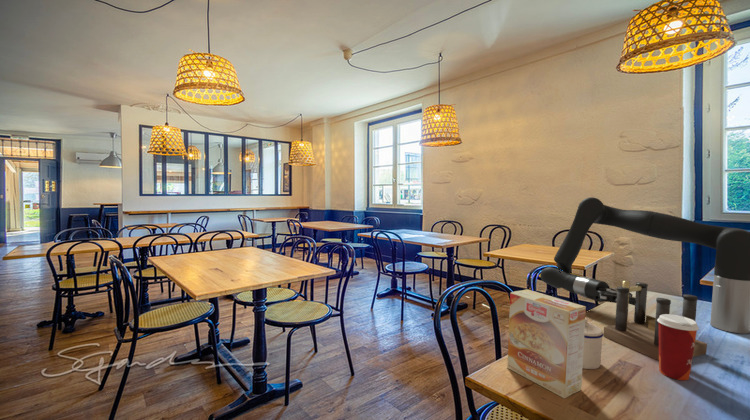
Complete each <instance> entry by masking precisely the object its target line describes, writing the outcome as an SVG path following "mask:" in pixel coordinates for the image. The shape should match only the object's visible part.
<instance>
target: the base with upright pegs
mask: <svg viewBox="0 0 750 420" xmlns="http://www.w3.org/2000/svg"><path fill="white" fill-rule="evenodd" d="M616 289H617V303H615V304H616V305H615V307H616V308H615V322H614V324H615V325H613V324H612V325H607V326H603V337H604V338H607V339H609V340H611V341H613V342H616V343H618V344H620V345H623V346H625V347H626V348H630V349H631V350H634V351H636V352H639V353H641V354H643V355H645V356H648V357H650V358H652V359H655V360H657V361H659V322H658V321H657V319H658V318H659V316H660V315H662V314H671V312H670V311H671V305H672V300H671V299H669V298H665V297H656V306H655V307H656V308H655V317H654V316H651V315H647V314H646V315H645V324H640V323H636V322H634V321H633V322H628V320H627V312H628V313H629V304H628V295H629V288H626V287H622V286H616ZM682 295H683V296H682V298H683V300H682V315H681V316H683V317H686V318H689V319H692V320H694V321H695V322H696V320H697V319H696V318H697V317H696V316H697V305H698V304H697V303H698V299H699V297H698V296H696V295H693V294H688V293H687V294H685V293H684V294H682ZM707 346H708V343H706V342H703V341H700V340H698V339H695V345H694V352H693V358H694V357H699V356H702V355H707V348H708V347H707Z"/></svg>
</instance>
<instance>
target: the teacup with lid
mask: <svg viewBox="0 0 750 420" xmlns="http://www.w3.org/2000/svg"><path fill="white" fill-rule="evenodd" d="M603 337H604V330H602V329H601V328H600V327H599V326H596V325H595V324H592V323H591V322H589V321H588V318H587V317H585V331H584V349H583V368H582V369H585V370H596V369H599V368H600V367H601V363H602V360H601V359H602V347H603V346H602V345H603V344H602V343H603Z"/></svg>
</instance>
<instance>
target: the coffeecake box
mask: <svg viewBox="0 0 750 420" xmlns="http://www.w3.org/2000/svg"><path fill="white" fill-rule="evenodd" d="M509 295H510V297H509V312H508V313H509V316H508V319H509V320H508V321H509V322H508V342H507V343H508V344H507V362H506V363H507V364H506V369H509V370H510V371H512V372H514V373H516V374H518V375H519V376H522V377H524V378H525V379H527V380H529V381H531V382H533V383H535V384H536V385H539V386H540V387H542V388H544V389H545V390H547V391H550V392H551V393H553V394H554V395H557V396H559V398H563V399H567V398H568V397H571V396H572V395H573V394H576V393H578V392H580V391H582V387H583V386H582V384H583V380H582V379H583V369H584V368H583V349H584V331H585V318H586V309H587V306H585V305H582V304H578V303H576V302H571V301H569V300H565V299H562V298H559V297H555V296H551V295H548V294H545V293H541V292H538V291H534V290H531V289H529V288H528V289H523V290H515V291H511V292H510V293H509Z"/></svg>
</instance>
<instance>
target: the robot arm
mask: <svg viewBox="0 0 750 420" xmlns="http://www.w3.org/2000/svg"><path fill="white" fill-rule="evenodd" d="M593 224H595V225H596V224H597V225H602V226H603V225H604V226H610V227H616V228H620V229H623V230H626V231H628V232H632V233H636V234H640V235H644V236H646V237H647V236H648V237H651V238H655V239H660V240H666V241H672V242H681V243H691V244H696V245H701V246H705V247H708V248H710V249H714V250H716V251H715V260H714V261H715V262H714V267H713V268H714V269H713V281H712V282H713V283H712V297H711V311H710V323H709V324H710V326H712V327H714V328H716V329H718V330H720V331H721V330H722V331H726V332H730V333H735V334H742V335H743V334H746V335H747V334H750V231H748V230H746V229H743V228H737V227H729V226H728V227H727V226H720V225H713V224H712V225H711V224H706V223H701V222H696V221H693V220H690V219H686V218H683V217H679V216H675V215H671V214H668V213H667V214H666V213H661V212H657V211H651V210H641V209H640V210H639V209H638V210H637V209H621V208H616V207H613V206H608V205H606V204H604V203H603V202H602V201H601V200H600V199H599V198H597V197H587V198H584V199H583V200H581V201H580V202H579V204H578V207H577V209H576V212H575V215H574V219H573V221H572V223H571V225H570V227H569V230H568V232H567V234H566V236H565V237H564V239H563V241H562V243H561V244H560V247H558V248H559V249H558V250H557V252H556V254H555V256H554V257H553V261H554V262H555V263H556V264H557V265H556V268H555V267H552V266H551V267H550V266H548V267H545V268H543V269H542V270H541V272H540V275H539V276H540V279H541V280H542V282H543V283H545V284H546V285H549V286H551V287H553V288H555V289H563V290H565V291H567V292H569V293H573V294H575V295H579V296H580V297H583V298H585V299H589V300H592V301H596V302H598V303H603V302H607V303H615V304H617V288H614V287H610V286H609V284H608V282H606V281H602V280H600V279H596V278H592V277H587V276H582V275H578V274H574V273H571V272H572V271H571V270H572V267H573V266H572V265H573V264H574V262H575V260H576V259H577V257H578V255H579V253H580V251H581V249H582V247H583V243H584V241H585V238H586V236H587V234H588V232H589V230H590V229H591V226H593ZM557 267H558V268H557ZM559 269H561V270H563V271H561V270H559ZM559 271H560V272H561V273H560V272H559ZM633 295H634V294H632V292H629V304H628V305H632V306H635V296H633Z"/></svg>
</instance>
